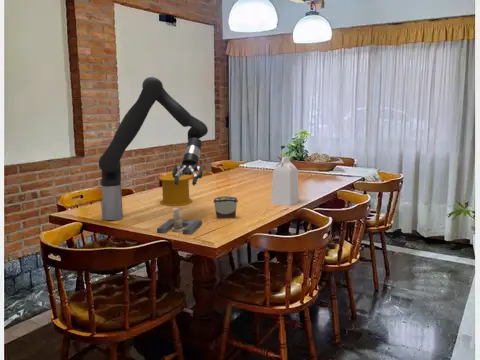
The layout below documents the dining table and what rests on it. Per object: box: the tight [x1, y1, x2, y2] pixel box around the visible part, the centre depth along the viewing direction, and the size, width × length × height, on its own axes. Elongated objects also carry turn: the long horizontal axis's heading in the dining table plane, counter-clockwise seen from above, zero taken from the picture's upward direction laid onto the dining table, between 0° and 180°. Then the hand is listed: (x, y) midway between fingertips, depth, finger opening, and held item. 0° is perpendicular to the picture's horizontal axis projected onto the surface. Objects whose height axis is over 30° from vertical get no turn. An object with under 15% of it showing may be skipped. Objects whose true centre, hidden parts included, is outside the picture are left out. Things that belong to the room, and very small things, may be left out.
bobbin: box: [171, 207, 185, 233], centre depth 200 cm, size 5×5×10 cm
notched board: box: [156, 218, 203, 235], centre depth 203 cm, size 16×16×2 cm
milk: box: [270, 155, 300, 207], centre depth 248 cm, size 12×12×26 cm
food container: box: [212, 195, 239, 220], centre depth 221 cm, size 12×6×10 cm, turn 92°
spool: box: [158, 174, 193, 207], centre depth 254 cm, size 18×18×15 cm
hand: (184, 184), depth 208 cm, fingers open, 8 cm apart
